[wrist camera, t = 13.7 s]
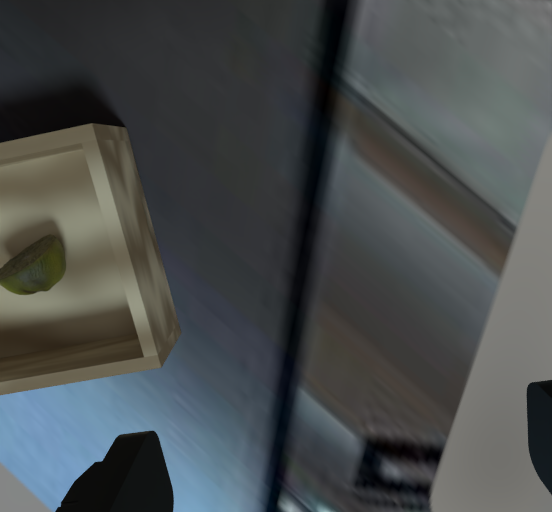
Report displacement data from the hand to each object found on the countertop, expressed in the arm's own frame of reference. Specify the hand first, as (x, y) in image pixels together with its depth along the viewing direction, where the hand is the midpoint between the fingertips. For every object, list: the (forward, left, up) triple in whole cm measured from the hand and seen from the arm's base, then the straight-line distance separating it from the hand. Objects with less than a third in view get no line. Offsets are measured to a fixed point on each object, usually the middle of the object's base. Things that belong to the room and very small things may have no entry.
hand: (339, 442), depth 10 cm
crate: (-2, -20, -26) cm, 33 cm away
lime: (-2, -20, -25) cm, 32 cm away
